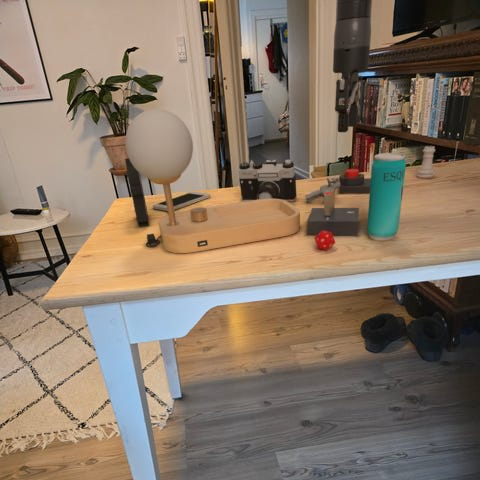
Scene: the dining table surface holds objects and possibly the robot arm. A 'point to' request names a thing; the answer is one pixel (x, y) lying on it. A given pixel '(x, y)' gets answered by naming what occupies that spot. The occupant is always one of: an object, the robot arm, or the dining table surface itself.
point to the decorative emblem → (137, 194)
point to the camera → (267, 180)
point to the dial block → (333, 221)
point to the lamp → (199, 219)
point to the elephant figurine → (323, 189)
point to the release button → (352, 173)
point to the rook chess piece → (427, 163)
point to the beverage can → (385, 195)
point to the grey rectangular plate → (329, 201)
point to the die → (324, 240)
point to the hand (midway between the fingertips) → (347, 129)
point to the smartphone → (183, 200)
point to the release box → (354, 184)
